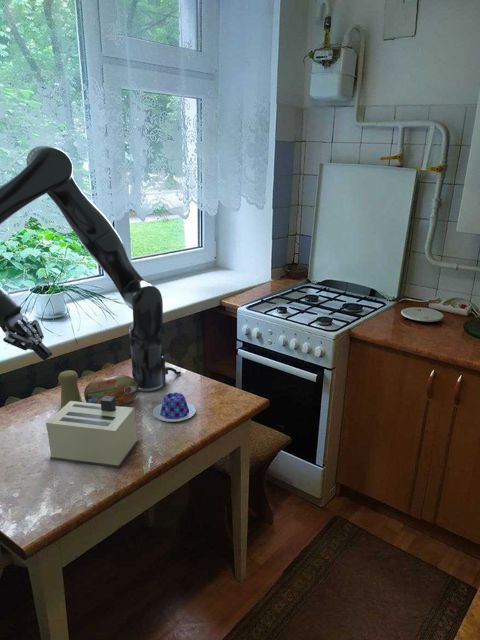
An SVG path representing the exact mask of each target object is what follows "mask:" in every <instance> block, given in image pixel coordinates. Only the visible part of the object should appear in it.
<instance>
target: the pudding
mask: <svg viewBox="0 0 480 640" xmlns="http://www.w3.org/2000/svg"><path fill="white" fill-rule="evenodd" d="M196 412H197V409H196V406H195V405H194V404H192V403H190V402H188V401H187V400H186V397H185V396H184V394H183V393H180V392H169V393H167V394H165V395H164V397H163V398H162V403H160V404H158V405H157V406H155V407H154V408H153V410H152V414H153V416H154V417H155V418H156V419H158V420H160V421H164V422H181V421H185V420H188V419H190V418H192V417H194V415H195V414H196Z"/></svg>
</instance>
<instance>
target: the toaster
mask: <svg viewBox="0 0 480 640" xmlns="http://www.w3.org/2000/svg"><path fill="white" fill-rule="evenodd" d="M135 411H136V410H135V407H129V406H122V405H117V406H116V407H115V408H114V410H113V411H112V412H111V411H102V409H101V404H94V403H86V401H85V402H84V401H82V402H76V401H70V402H69V403H67V404H66V405H65V406H64V407H63V408H62V409H61V408H60V410H59V411H57V412H56V413H55V414H54V415H53V416H52V417H51V418H49V420H47V421H46V423H45V425H46V431H47V438H48V445H49V451H50V456H49V458H50V459H49V460H54V461H61V462H68V463H77V464H83V465H93V466H99V467H109V468H116V469H120V468H121V466H122V465H123V464H124V462H125V461H126V460H127V458H128V456H129V455H130V454H131V453H132V451H133V450H134V448H135V447H136V446H137V444H138V443H139V440H138V439H137V425H136V412H135Z"/></svg>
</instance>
